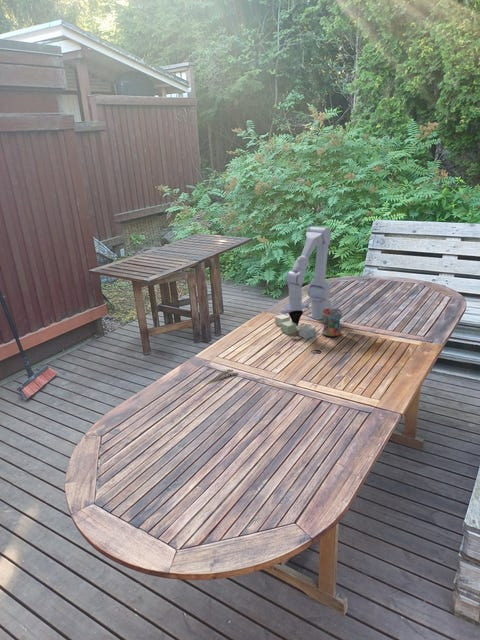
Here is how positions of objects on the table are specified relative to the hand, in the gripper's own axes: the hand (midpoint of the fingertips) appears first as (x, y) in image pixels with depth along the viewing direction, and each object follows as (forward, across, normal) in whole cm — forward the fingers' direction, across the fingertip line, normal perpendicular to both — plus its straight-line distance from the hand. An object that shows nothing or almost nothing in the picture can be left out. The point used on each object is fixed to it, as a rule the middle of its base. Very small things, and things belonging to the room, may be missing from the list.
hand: (295, 325), depth 209 cm
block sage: (+2, -4, 0) cm, 4 cm away
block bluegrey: (+2, -1, -9) cm, 9 cm away
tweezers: (+3, -53, -20) cm, 57 cm away
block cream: (+2, -1, +9) cm, 9 cm away
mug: (+2, +10, -14) cm, 18 cm away
